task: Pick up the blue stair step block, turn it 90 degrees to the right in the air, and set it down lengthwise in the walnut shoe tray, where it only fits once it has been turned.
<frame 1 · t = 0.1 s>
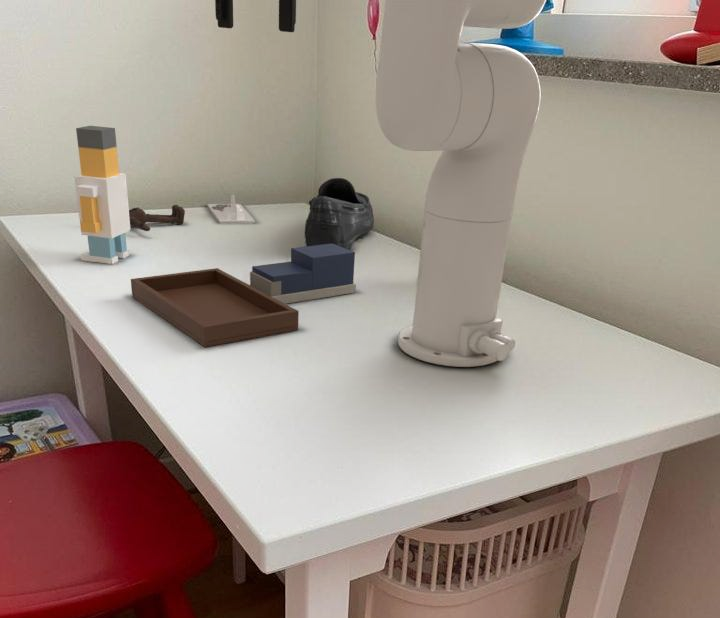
hand: (256, 29, 106), 31 cm above the table, tool pointing down, fingers open, 9 cm apart
shoe tray: (212, 312, 98), on the table
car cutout: (230, 215, 148), on the table
character figure: (107, 258, 117), on the table
blue stair step block: (302, 293, 107), on the table
loafer: (341, 239, 136), on the table
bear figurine: (142, 226, 135), on the table
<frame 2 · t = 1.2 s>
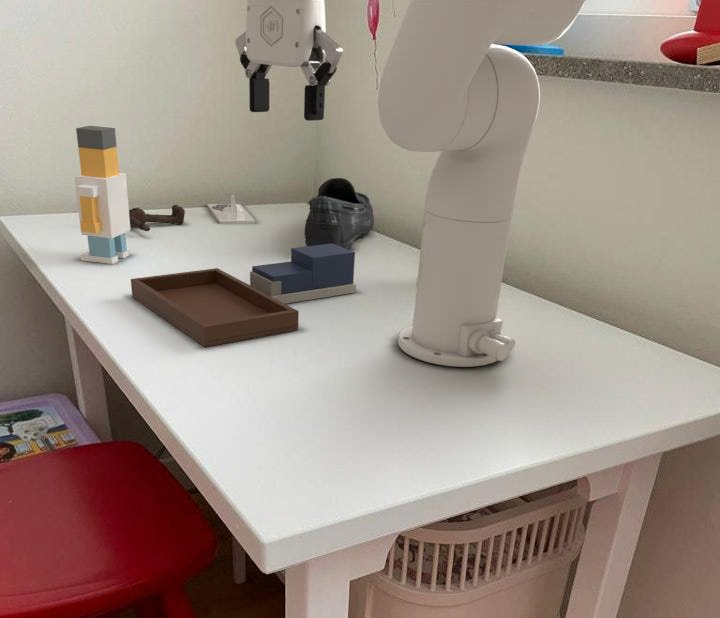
hand: (286, 115, 102), 22 cm above the table, tool pointing down, fingers open, 9 cm apart
nothing on the table moved.
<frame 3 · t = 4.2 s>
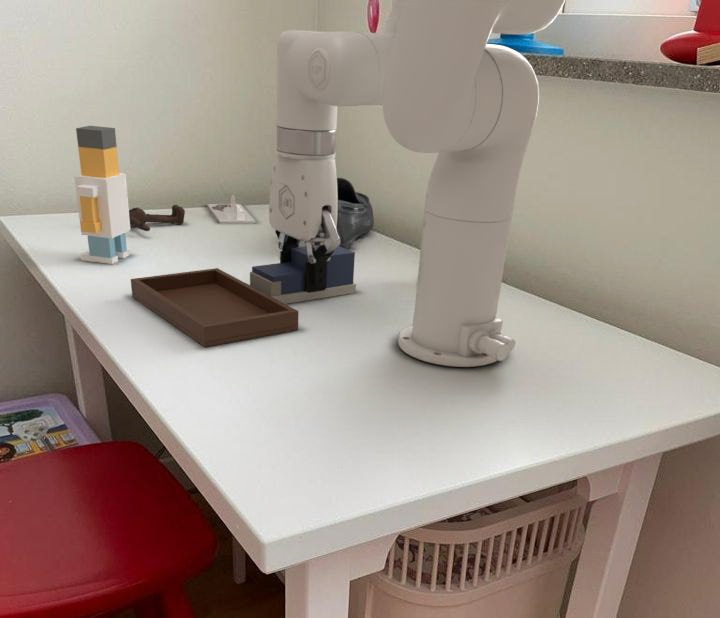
hand: (302, 283, 106), 1 cm above the table, tool pointing down, fingers closed on blue stair step block, 5 cm apart
blue stair step block: (302, 293, 107), on the table, touching gripper
everything else where it was.
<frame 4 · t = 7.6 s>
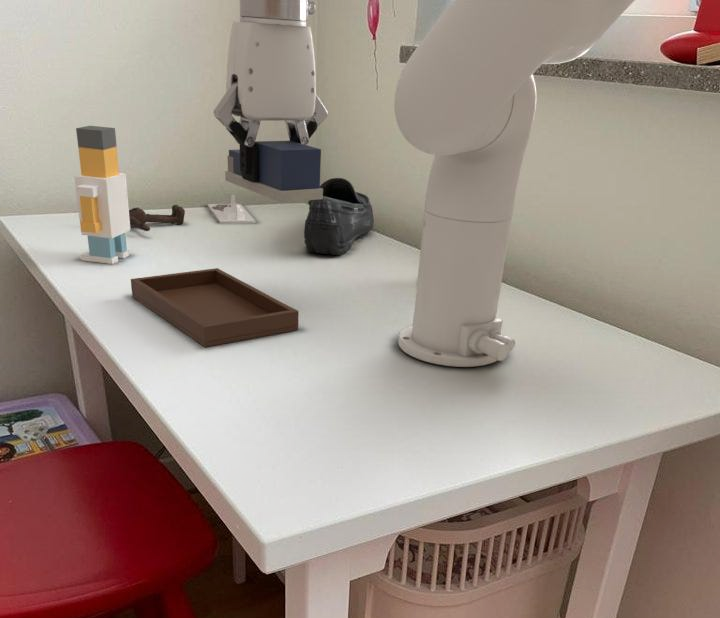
hand: (272, 177, 96), 16 cm above the table, tool pointing down, fingers closed on blue stair step block, 5 cm apart
blue stair step block: (272, 189, 97), point 14 cm above the table, touching gripper
everything else where it was.
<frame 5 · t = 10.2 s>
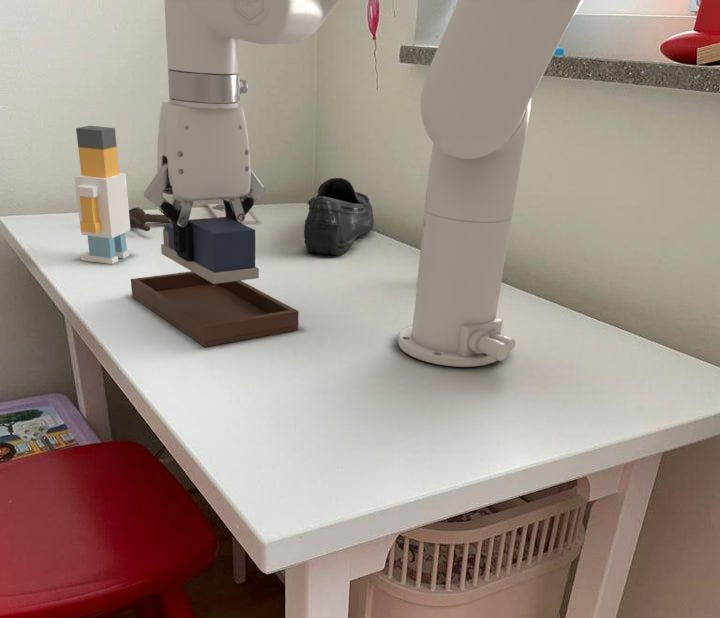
hand: (208, 254, 94), 7 cm above the table, tool pointing down, fingers closed on blue stair step block, 5 cm apart
blue stair step block: (208, 265, 95), point 6 cm above the table, touching gripper
everything else where it was.
when the fingers open (2 cm above the table, at t = 12.0 s): blue stair step block stays where it is, resting on shoe tray.
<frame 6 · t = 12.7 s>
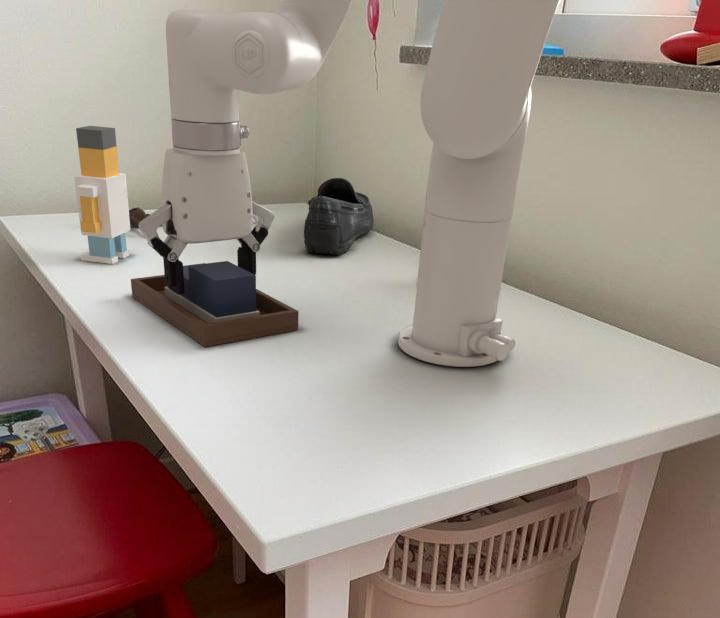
hand: (212, 286, 96), 3 cm above the table, tool pointing down, fingers open, 9 cm apart
blue stair step block: (210, 308, 97), point 1 cm above the table, touching shoe tray
everything else where it was.
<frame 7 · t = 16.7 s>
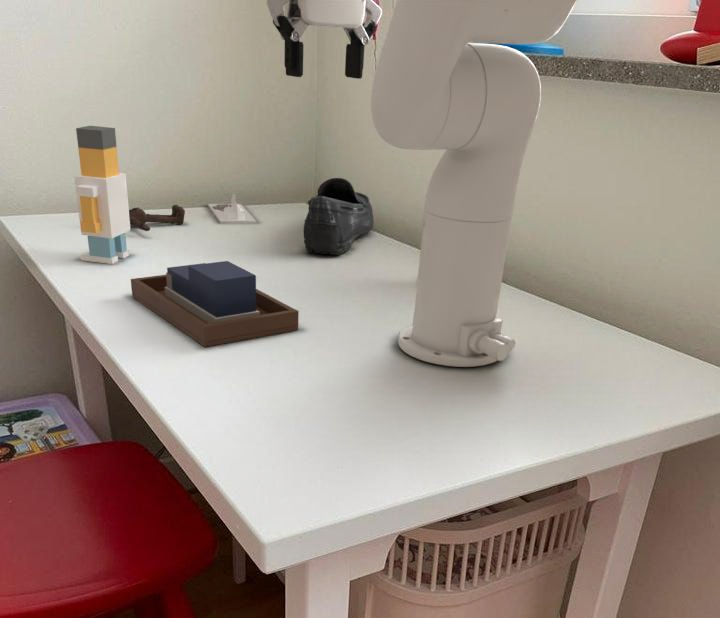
hand: (324, 76, 104), 26 cm above the table, tool pointing down, fingers open, 9 cm apart
nothing on the table moved.
at the end: blue stair step block 0.2 cm off-centre in the shoe tray, point 0.6 cm above the shoe tray's base; blue stair step block tilted 0°; the gripper is holding nothing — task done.
